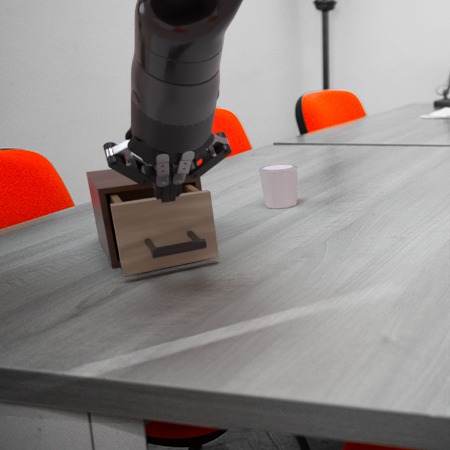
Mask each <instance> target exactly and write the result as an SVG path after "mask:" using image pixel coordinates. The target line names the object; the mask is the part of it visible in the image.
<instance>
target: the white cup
mask: <svg viewBox="0 0 450 450" xmlns="http://www.w3.org/2000/svg"><path fill="white" fill-rule="evenodd" d="M258 173H259V177H260V179H259V180H260V183H261V188H262V194H263V199H264V204H265V208H268V209H274V210H275V209H287V208H288V209H289V208H292V207H294V206H297V204H298V166H297V165H296V164H293V163H292V164H291V163H276V164H268V165H263V166H261V167H258Z"/></svg>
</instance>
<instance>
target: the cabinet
mask: <svg viewBox="0 0 450 450" xmlns="http://www.w3.org/2000/svg"><path fill="white" fill-rule="evenodd" d="M149 165H151V164H149ZM151 166H152V165H151ZM85 175H86V177H87V178H86V179H87V185H88V190H89V195H90V201H91V206H92V210H93V216H94V222H95V227H96V232H97V237H98V238H97V239H98V241H99V243H100V246H101V248H102V250H103V253H104V254H105V256H106V258H107V261H108V263H109V265H110V267H111V268H112V269H116V268H122V267H121V262H120V256H119V252H118V250H117V248H116V247H115V244H114V238H113V233H112V227H111V222H110V216H109V211H108V205H107V200H106V195H105V194H110V193H117V192H124V191H132V190H139V189H146V188H152V186H153V183H151V184H149V185H147V186H142V185H140V184H138V183H136V182H134V181H132V180H131V179H129V178H127V177H125V176H124V175H122V174H120V173H118V172H116V171H115V170H113V169H111V168H108V169H99V170H91V171H86V172H85ZM183 183H189V184H191V185H192V186H194V187H195V188H197V189H198V190H200V191H203V186H202V181H201V177H200V178H198V179H191V178H190V177H189V178H186V179H185V180H184V182H183ZM183 183H182V184H183Z"/></svg>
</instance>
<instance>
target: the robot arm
mask: <svg viewBox="0 0 450 450" xmlns="http://www.w3.org/2000/svg"><path fill="white" fill-rule="evenodd" d="M243 2H244V0H136V3H135V8H134V23H133V25H134V45H133V46H134V50H133V56H132V60H131V61H132V62H131V66H130V67H131V68H130V126H129V128H128V130H126V132H125V135H124V139H125V140H123V141H121V142H119V143H116V142H113V141H108V142H105V143H104V144H103V145H102V148H103V151H104V152H103V153H104V156H105V160H106V163H107V166H108V169H113V170H115V171H116V172H118V173H120V174H122V175H124V176H125V177H127V178H129V179H131V180H132V181H134V182H136V183H138V184H140V185H142V186H147V185H149V184H151V183H153V186H152V188H153V191H154V194H155V198H156V199H157V200H158V199H161V202H162V203H166V202H173V201H175V200H176V197H179V196H180V195H181V191H182V183H183V182H184V180H185V179H186V178H189V177H190V178H191V179H198V178H200V179H201V177H203V176H204V175H205V174H206V173H207V172H209V171H210V170H212V169H213V168H214V167H215V166H217V165H219V164H220V162H223V160H224V159H226V158H227V157H228V156H230V155H231V154H232V153H233V151H232V148H231V145H230V142H229V140H228V137H227V134H226V133H225V132H224V131H219V132H216V133H214V132H213V127H214V126H213V125H214V120H215V115H216V110H217V103H218V100H219V97H220V85H221V84H220V83H221V71H220V69H221V63H222V56H223V49H224V44H225V36H226V32H227V30H228V28H229V27H230V25H231V24H232V22H233V21H234V19H235V17H236V16H237V14H238V12H239V9H240V7H241V6H242V4H243ZM200 160H201V163H199V164H198V162H199V161H200ZM150 164H151V165H152V166H151V165H150Z"/></svg>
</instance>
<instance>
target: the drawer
mask: <svg viewBox="0 0 450 450" xmlns="http://www.w3.org/2000/svg"><path fill="white" fill-rule="evenodd" d="M105 195H106V200H107V205H108V211H109V216H110V222H111V227H112V233H113V238H114V244H115V247H116V248H117V250H118V252H119V256H120V262H121V267H120V268H121V273H122V275H123V277H129V276H133V275H137V274H143V273H147V272H153V271H156V270H157V271H158V270H162V269H167V268H171V267H176V266H181V265H185V264H190V263H196V262H201V261H205V260H210V259H215V258H219V257H220V255H219V248H218V240H217V231H216V225H215V217H214V209H213V201H212V194H211V191H210V190H208V189H202V191H200V190H198V189H197V188H195V187H194V186H192V185H191V184H189V183H183V184H182V191H181V195H180V196H179V197H176V200H175V201H173V202H166V203H162V202H161V199H158V200H157V199H156V198H155V194H154V191H153V188H146V189H139V190H132V191H124V192H117V193H110V194H105Z"/></svg>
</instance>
